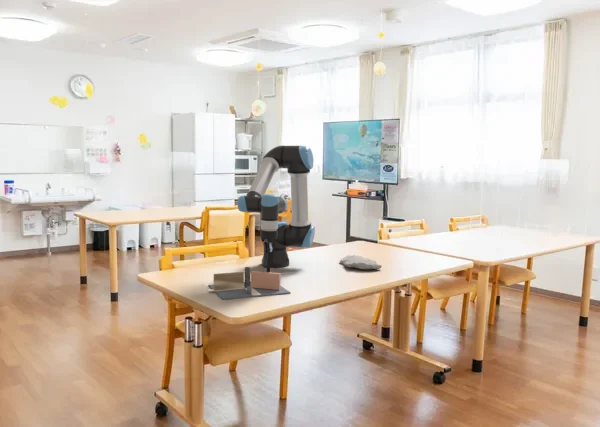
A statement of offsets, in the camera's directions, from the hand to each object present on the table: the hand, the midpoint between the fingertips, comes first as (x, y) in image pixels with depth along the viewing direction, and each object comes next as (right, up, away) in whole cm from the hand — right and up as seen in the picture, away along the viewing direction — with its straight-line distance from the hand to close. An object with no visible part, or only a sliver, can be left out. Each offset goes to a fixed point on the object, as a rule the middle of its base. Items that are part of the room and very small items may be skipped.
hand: (267, 281), depth 233 cm
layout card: (-8, -3, -2) cm, 9 cm away
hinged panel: (-1, -2, -3) cm, 4 cm away
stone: (+45, +1, +52) cm, 69 cm away
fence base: (-15, -3, -3) cm, 16 cm away
